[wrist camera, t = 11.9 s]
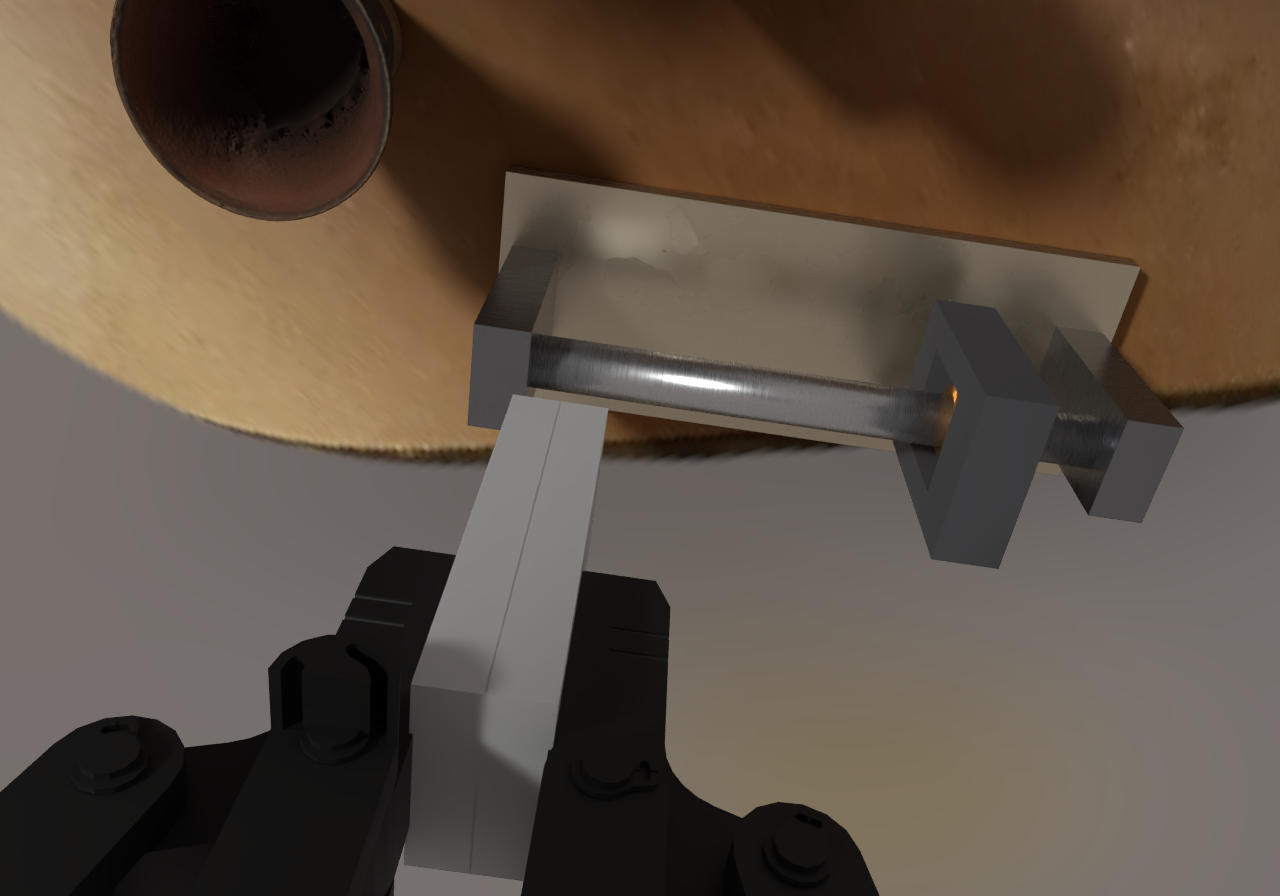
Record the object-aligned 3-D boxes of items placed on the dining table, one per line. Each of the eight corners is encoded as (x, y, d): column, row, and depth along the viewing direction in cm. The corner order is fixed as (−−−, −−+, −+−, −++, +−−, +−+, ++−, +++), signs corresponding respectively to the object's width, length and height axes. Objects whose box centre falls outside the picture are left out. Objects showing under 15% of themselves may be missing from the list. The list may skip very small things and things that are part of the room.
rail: (493, 383, 48) (450, 492, 39) (509, 165, 43) (464, 238, 35) (1052, 464, 48) (1125, 589, 40) (1132, 258, 43) (1233, 352, 35)
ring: (892, 442, 44) (931, 559, 37) (935, 298, 41) (986, 395, 34) (948, 450, 44) (998, 568, 37) (995, 307, 41) (1059, 406, 34)
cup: (337, 227, 44) (229, 277, 35) (199, 32, 41) (42, 30, 32) (508, 109, 41) (441, 129, 32) (372, -105, 39) (257, -150, 30)
